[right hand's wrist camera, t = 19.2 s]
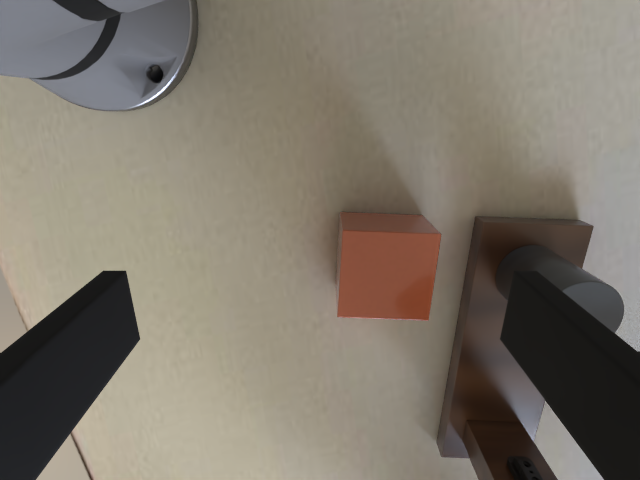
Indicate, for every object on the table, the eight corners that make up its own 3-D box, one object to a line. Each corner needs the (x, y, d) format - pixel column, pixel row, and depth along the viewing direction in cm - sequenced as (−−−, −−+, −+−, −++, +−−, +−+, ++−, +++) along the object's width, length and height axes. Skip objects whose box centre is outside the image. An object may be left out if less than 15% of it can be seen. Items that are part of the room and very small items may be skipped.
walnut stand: (475, 216, 36) (545, 263, 24) (579, 220, 36) (699, 269, 24) (436, 442, 45) (474, 555, 33) (520, 446, 45) (586, 559, 33)
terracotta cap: (339, 211, 36) (342, 230, 30) (423, 214, 36) (441, 233, 30) (335, 287, 38) (337, 317, 33) (413, 290, 38) (428, 321, 33)
